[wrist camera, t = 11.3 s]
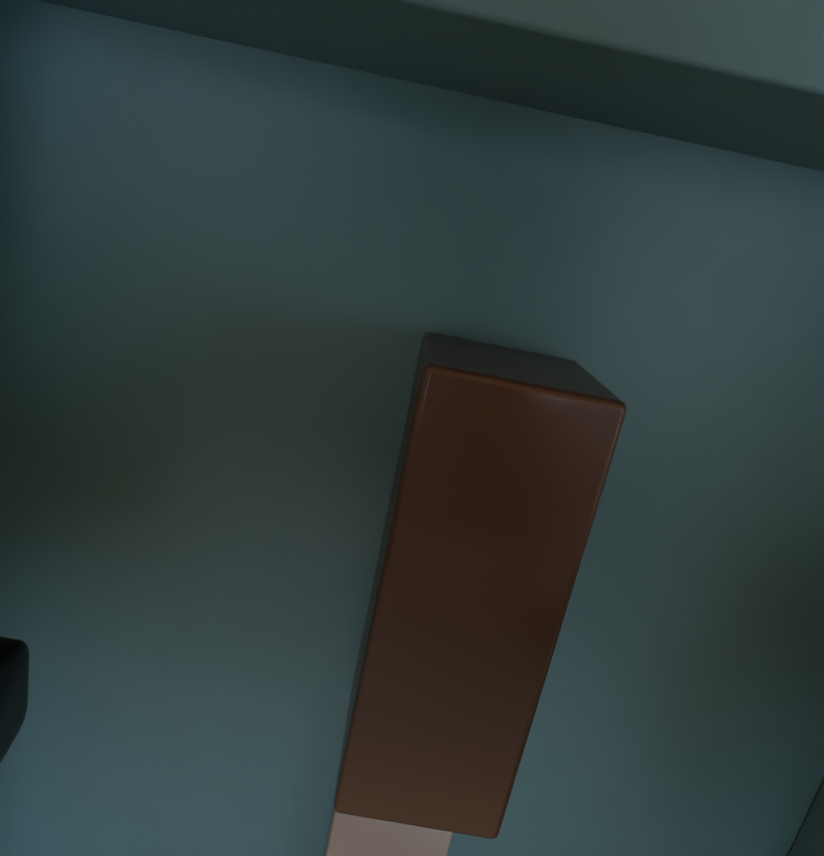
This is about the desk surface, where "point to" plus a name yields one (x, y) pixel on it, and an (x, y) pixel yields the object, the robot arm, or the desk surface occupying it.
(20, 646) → the robot arm
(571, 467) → the brown and grey bar
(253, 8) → the cutlery tray
